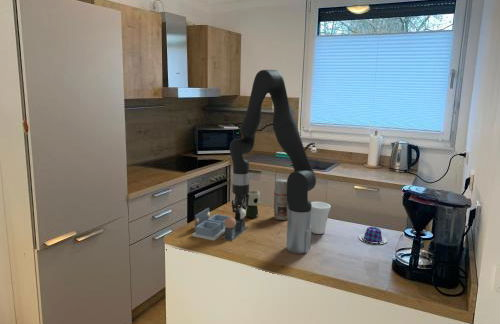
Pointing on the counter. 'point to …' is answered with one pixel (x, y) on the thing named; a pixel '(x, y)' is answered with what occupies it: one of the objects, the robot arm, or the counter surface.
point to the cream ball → (242, 213)
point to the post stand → (235, 230)
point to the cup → (319, 216)
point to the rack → (211, 227)
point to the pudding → (373, 235)
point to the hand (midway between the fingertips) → (240, 218)
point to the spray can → (280, 200)
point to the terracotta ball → (230, 222)
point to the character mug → (253, 203)
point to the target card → (201, 217)
